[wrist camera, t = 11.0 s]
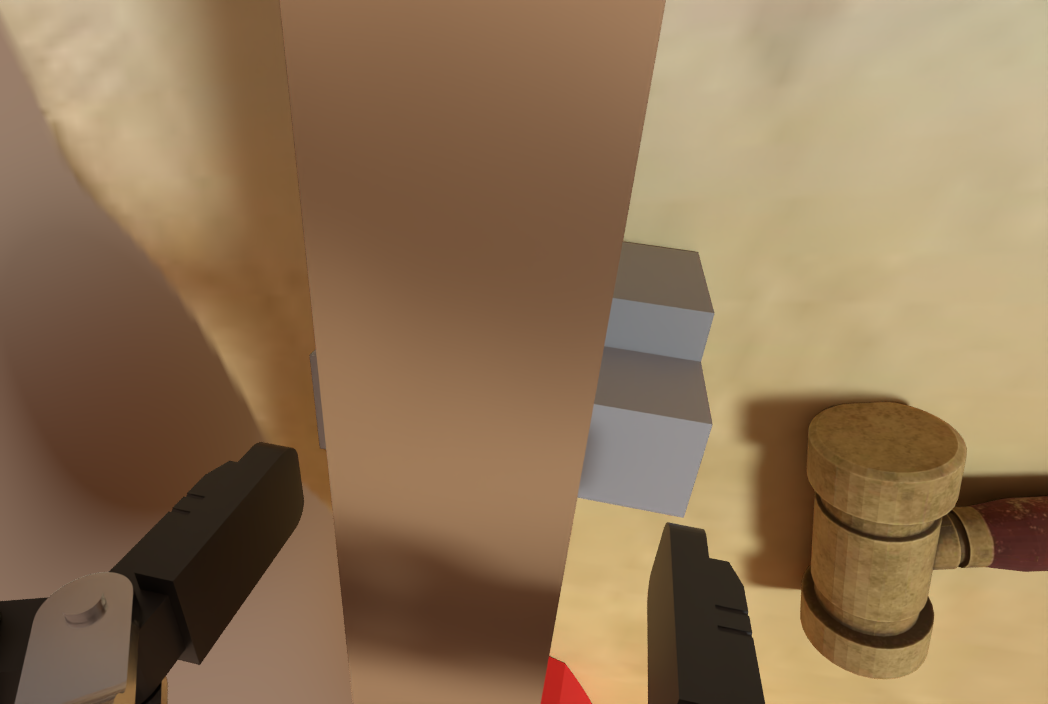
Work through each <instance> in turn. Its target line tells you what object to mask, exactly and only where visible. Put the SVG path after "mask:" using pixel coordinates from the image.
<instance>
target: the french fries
mask: <svg viewBox="0 0 1048 704" xmlns="http://www.w3.org/2000/svg"><path fill="white" fill-rule="evenodd" d="M541 704H592V703H591V701H590V699H589V698H588V696H587V695H586V693H585V691H584V690H583V688H582V687H581V685H580V684H579V682H578V681H577V679H576V678H575V676H574V675H573V674H572V672H571V671H570V669H569V668H568V667H567V665H566V664H565V663H562V662H560V661H558V660H556V659H554V658H552V657H550V656H549V659H548V665H547V670H546V676H545V681H544V687H543V693H542V698H541Z"/></svg>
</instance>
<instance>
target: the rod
mask: <svg viewBox="0 0 1048 704" xmlns="http://www.w3.org/2000/svg"><path fill="white" fill-rule="evenodd" d="M279 1H280V10H281V20H282V29H283V39H284V49H285V58H286V68H287V77H288V87H289V97H290V106H291V116H292V125H293V135H294V145H295V154H296V164H297V173H298V183H299V193H300V202H301V212H302V221H303V231H304V241H305V250H306V260H307V269H308V279H309V289H310V298H311V308H312V317H313V327H314V336H315V346H316V356H317V365H318V375H319V384H320V394H321V404H322V413H323V423H324V432H325V442H326V452H327V461H328V471H329V480H330V490H331V500H332V509H333V519H334V528H335V537H336V547H337V557H338V566H339V575H340V586H341V596H342V605H343V615H344V624H345V634H346V644H347V653H348V662H349V671H350V682H351V691H352V701H353V704H541V698H542V693H543V687H544V681H545V676H546V670H547V665H548V659H549V653H550V648H551V642H552V636H553V631H554V625H555V620H556V614H557V608H558V603H559V597H560V592H561V586H562V580H563V575H564V569H565V563H566V558H567V552H568V547H569V541H570V535H571V530H572V524H573V518H574V513H575V507H576V502H577V496H578V490H579V485H580V479H581V474H582V468H583V462H584V457H585V451H586V445H587V440H588V434H589V429H590V423H591V417H592V412H593V406H594V401H595V395H596V389H597V384H598V378H599V372H600V367H601V361H602V356H603V350H604V344H605V339H606V333H607V328H608V322H609V316H610V311H611V305H612V299H613V294H614V288H615V283H616V277H617V271H618V266H619V260H620V254H621V249H622V243H623V238H624V232H625V226H626V221H627V215H628V210H629V204H630V198H631V193H632V187H633V181H634V176H635V170H636V165H637V159H638V153H639V148H640V142H641V137H642V131H643V125H644V120H645V114H646V108H647V103H648V97H649V92H650V86H651V80H652V75H653V69H654V63H655V58H656V52H657V47H658V41H659V35H660V30H661V24H662V19H663V13H664V7H665V2H666V0H279Z"/></svg>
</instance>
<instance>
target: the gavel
mask: <svg viewBox="0 0 1048 704" xmlns="http://www.w3.org/2000/svg"><path fill="white" fill-rule="evenodd" d="M966 454H967V448H966V445H965V442H964V440H963V438H962V437H961V436H960V434H959V433H958V432H957V431H956V430H955V429H954V428H953V427H952V426H951V425H949V424H948V423H946V422H945V421H943V420H942V419H940V418H938V417H936V416H934V415H932V414H930V413H928V412H925V411H923V410H920V409H917V408H914V407H911V406H908V405H904V404H899V403H894V402H869V403H850V404H840V405H836V406H834V407H831V408H828V409H825V410H823V411H822V412H820V413H819V414H818V415H816V416H815V417H814V419H813V420H812V421H811V423H810V426H809V429H808V452H807V476H808V480H809V483H810V484H811V486H812V487H813V489H814V490H815V499H814V517H813V536H812V555H811V565H810V566H809V567H808V568H807V570H806V571H805V573H804V576H803V579H802V587H801V610H800V619H801V623H802V627H803V630H804V632H805V634H806V636H807V638H808V639H809V640H810V642H811V643H812V645H813V646H814V647H815V648H816V649H817V650H818V651H819V652H820V653H821V654H822V655H823V656H824V657H826V658H827V659H828V660H830V661H831V662H832V663H834V664H835V665H837V666H839V667H841V668H843V669H844V670H847V671H849V672H852V673H854V674H857V675H860V676H864V677H868V678H874V679H895V678H900V677H903V676H906V675H909V674H911V673H912V672H914V671H916V670H917V669H918V668H919V667H920V666H921V665H922V664H923V663H924V661H925V658H926V656H927V653H928V648H929V643H930V638H931V633H932V628H933V622H934V611H933V606H932V603H931V601H930V599H929V597H928V593H929V587H930V582H931V576H932V571H933V570H939V569H955V568H957V567H961V568H970V567H989V568H998V569H1007V570H1015V571H1024V572H1029V571H1048V496H1038V497H1021V498H1004V499H999V500H994V501H990V502H985V503H981V504H976V505H972V506H966V507H954V506H955V504H956V502H957V500H958V497H959V491H960V486H961V481H962V476H963V471H964V466H965V461H966Z"/></svg>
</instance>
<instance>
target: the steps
mask: <svg viewBox="0 0 1048 704" xmlns="http://www.w3.org/2000/svg"><path fill="white" fill-rule="evenodd" d="M713 316H714V310H713V306H712V303H711V299H710V295H709V291H708V287H707V284H706V280H705V276H704V272H703V269H702V265H701V261H700V257H699V254H698V252H692V251H685V250H678V249H671V248H664V247H657V246H649V245H642V244H635V243H628V242H623V243H622V249H621V254H620V260H619V266H618V271H617V277H616V283H615V288H614V294H613V299H612V305H611V311H610V316H609V322H608V328H607V333H606V339H605V344H604V350H603V356H602V361H601V367H600V372H599V378H598V384H597V389H596V395H595V401H594V406H593V412H592V417H591V423H590V429H589V434H588V440H587V445H586V451H585V457H584V462H583V468H582V474H581V479H580V485H579V490H578V496H577V497H578V498H583V499H588V500H594V501H599V502H604V503H609V504H614V505H620V506H625V507H630V508H635V509H641V510H646V511H651V512H656V513H662V514H667V515H672V516H677V517H683V518H684V515H685V512H686V509H687V505H688V502H689V499H690V496H691V492H692V489H693V486H694V483H695V479H696V476H697V473H698V470H699V467H700V463H701V460H702V457H703V454H704V450H705V447H706V444H707V441H708V437H709V434H710V431H711V428H712V419H711V414H710V408H709V403H708V398H707V392H706V387H705V381H704V376H703V370H702V365H701V360H702V356H703V352H704V349H705V345H706V342H707V338H708V334H709V331H710V327H711V324H712V320H713ZM310 363H311V372H312V381H313V390H314V399H315V409H316V418H317V427H318V436H319V445H320V448H321V449H326V442H325V432H324V423H323V413H322V404H321V394H320V384H319V375H318V365H317V356H316V349H315V350H314V351H313V352H312V353H311V354H310Z"/></svg>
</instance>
